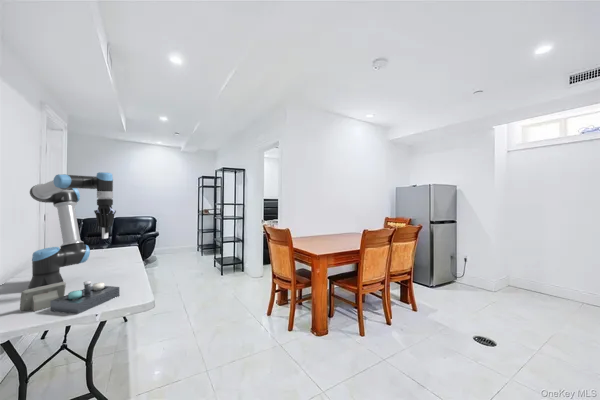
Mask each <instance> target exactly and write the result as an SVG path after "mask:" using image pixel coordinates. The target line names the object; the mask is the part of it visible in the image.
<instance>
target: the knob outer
mask: <svg viewBox="0 0 600 400" xmlns="http://www.w3.org/2000/svg"><path fill="white" fill-rule="evenodd" d="M81 290H82V289H80V290H73V291H70V292H68V293H67V295H68V299H73V301H75V300H77V299H78V298H80V297H82V291H81Z"/></svg>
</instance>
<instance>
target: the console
mask: <svg viewBox="0 0 600 400" xmlns="http://www.w3.org/2000/svg"><path fill="white" fill-rule="evenodd" d="M104 287H105V288H104V289H101V291H98V292H96V290H93V285H92V286H91V285H90V294H84V288H83V289H80V290H81V291H82V297H80V298H78V299H77V300H75V301H73V299H68V294H65V295H64V296H63V297H60V298H57V299H54V300H51V307H50V312H54V313H55V312H56V313H66V314H74V315H75V314H76V315H79V314H81V313H83V312H86V311H88V310H90V309H93V308H95V307H98V306H99V305H102V304H104V303H107V302H109V301H111V300H113V298H114V299H116V298H119V297H120V286H112V285H110V286H109V285H104ZM115 297H116V298H115Z"/></svg>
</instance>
